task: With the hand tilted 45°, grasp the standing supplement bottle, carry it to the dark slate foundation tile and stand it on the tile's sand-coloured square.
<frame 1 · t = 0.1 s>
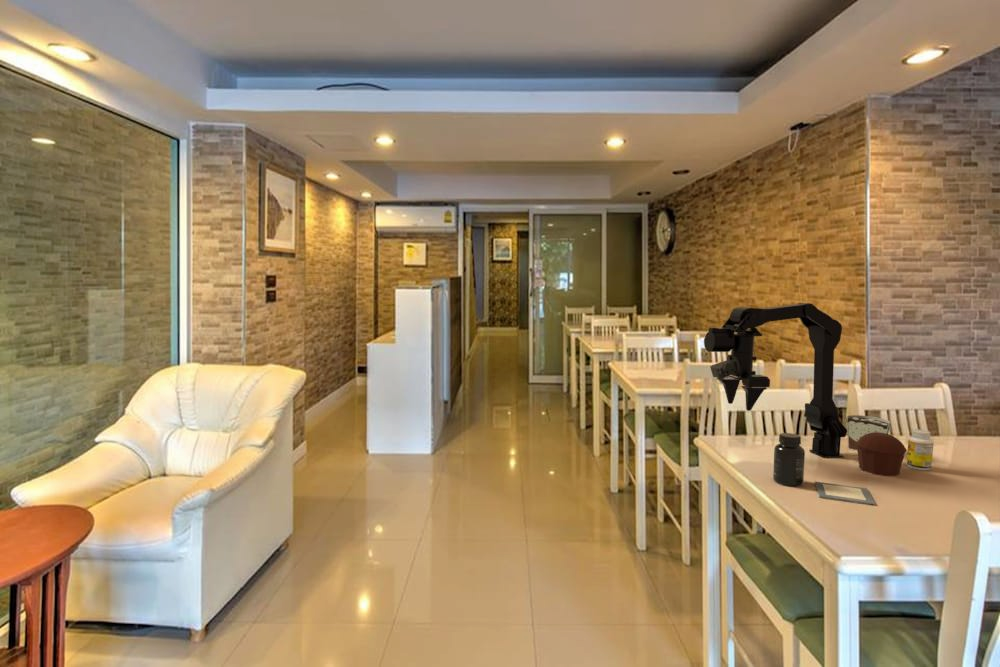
hand: (739, 406, 163), 15 cm above the table, tool pointing down, fingers open, 9 cm apart
supplement bottle: (787, 483, 144), on the table
foundation tile: (843, 493, 137), on the table
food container: (869, 451, 173), on the table
muffin: (879, 471, 155), on the table
supplement bottle 2: (918, 468, 158), on the table
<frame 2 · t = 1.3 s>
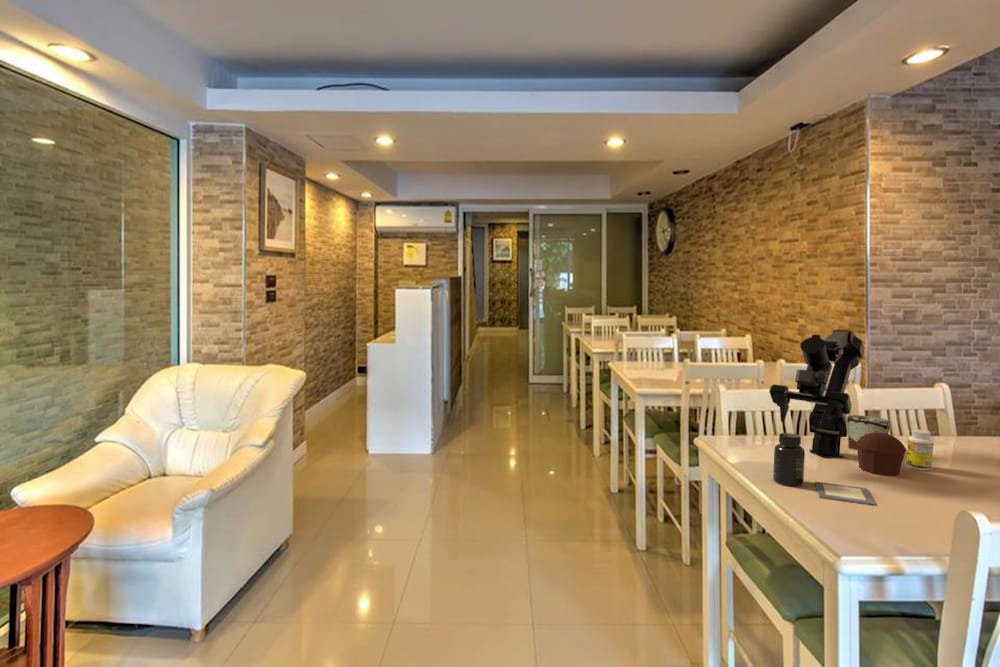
hand: (800, 424, 149), 13 cm above the table, tool tilted 45°, fingers open, 9 cm apart
nothing on the table moved.
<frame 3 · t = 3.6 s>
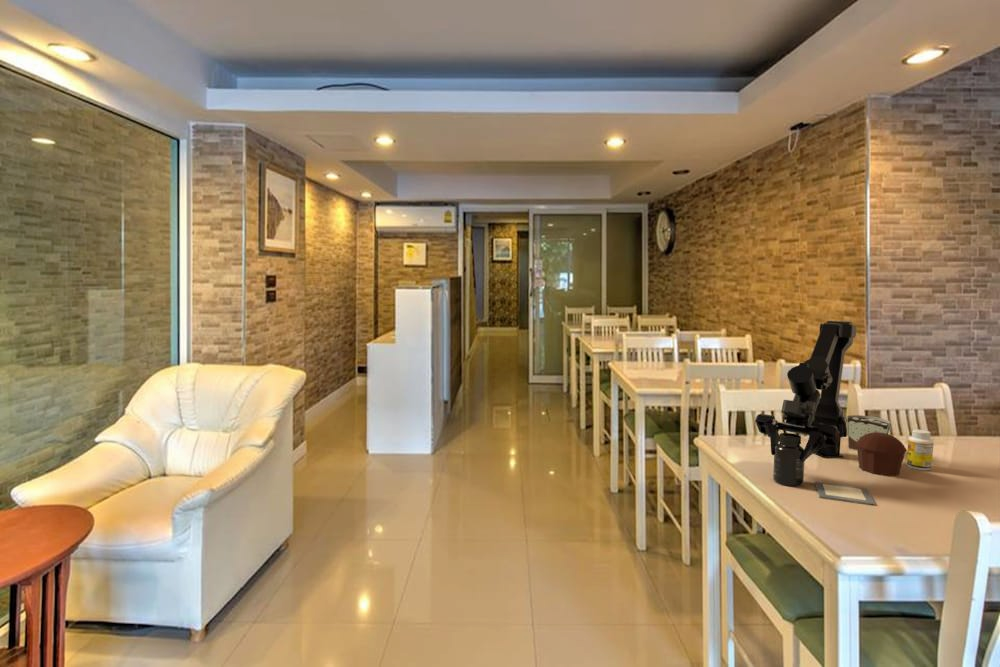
hand: (787, 457, 143), 7 cm above the table, tool tilted 45°, fingers closed on supplement bottle, 7 cm apart
supplement bottle: (787, 483, 144), on the table, touching gripper
everything else where it was.
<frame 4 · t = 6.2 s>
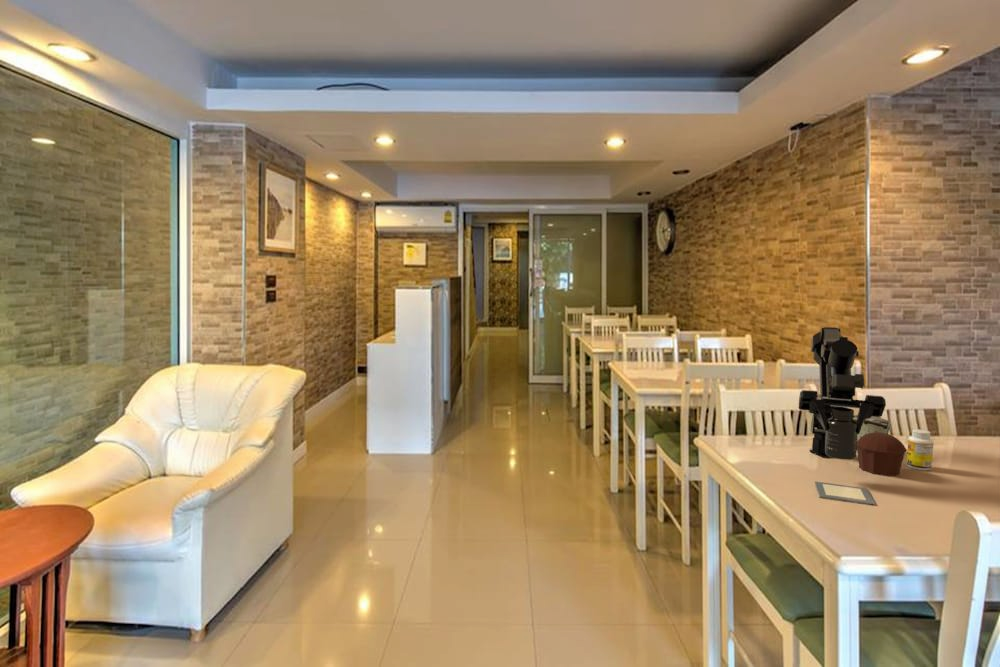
hand: (842, 431, 143), 13 cm above the table, tool tilted 45°, fingers closed on supplement bottle, 7 cm apart
supplement bottle: (839, 456, 145), point 6 cm above the table, touching gripper
everything else where it was.
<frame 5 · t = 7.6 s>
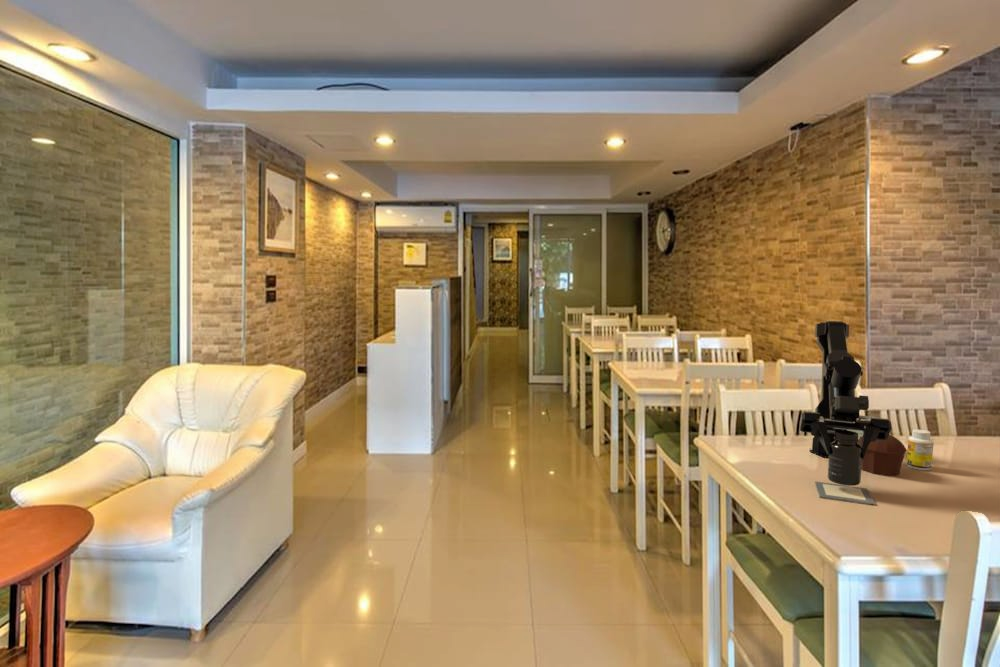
hand: (845, 456, 137), 9 cm above the table, tool tilted 45°, fingers closed on supplement bottle, 7 cm apart
supplement bottle: (843, 482, 138), point 2 cm above the table, touching gripper
everything else where it was.
when the fingers open (8 cm above the table, at t = 8.6 s): supplement bottle stays where it is, resting on foundation tile.
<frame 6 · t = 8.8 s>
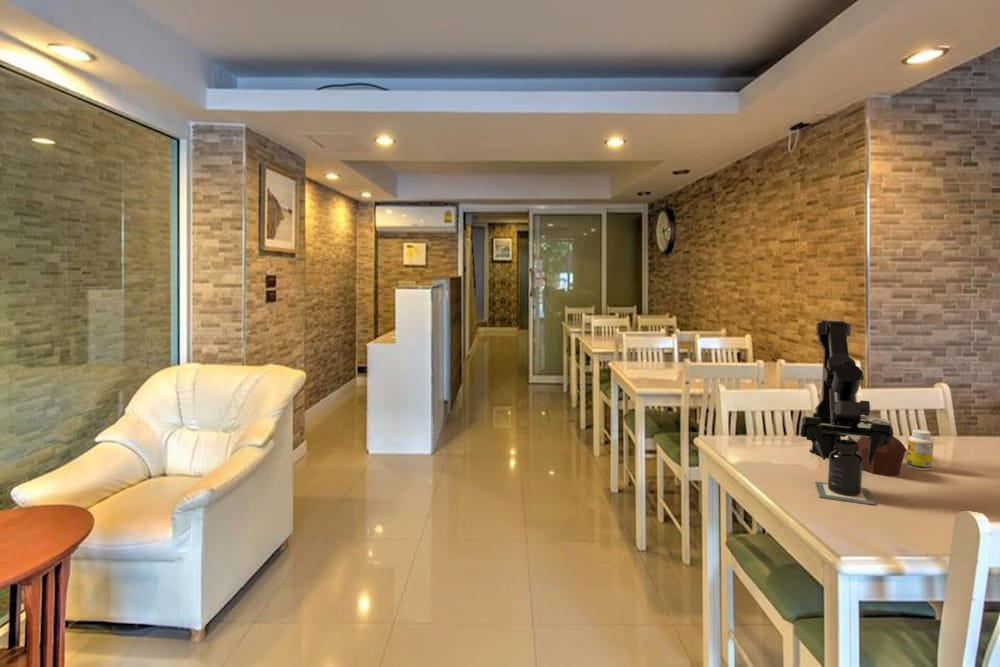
hand: (846, 461, 135), 8 cm above the table, tool tilted 45°, fingers open, 9 cm apart
supplement bottle: (843, 492, 137), resting on foundation tile
everything else where it was.
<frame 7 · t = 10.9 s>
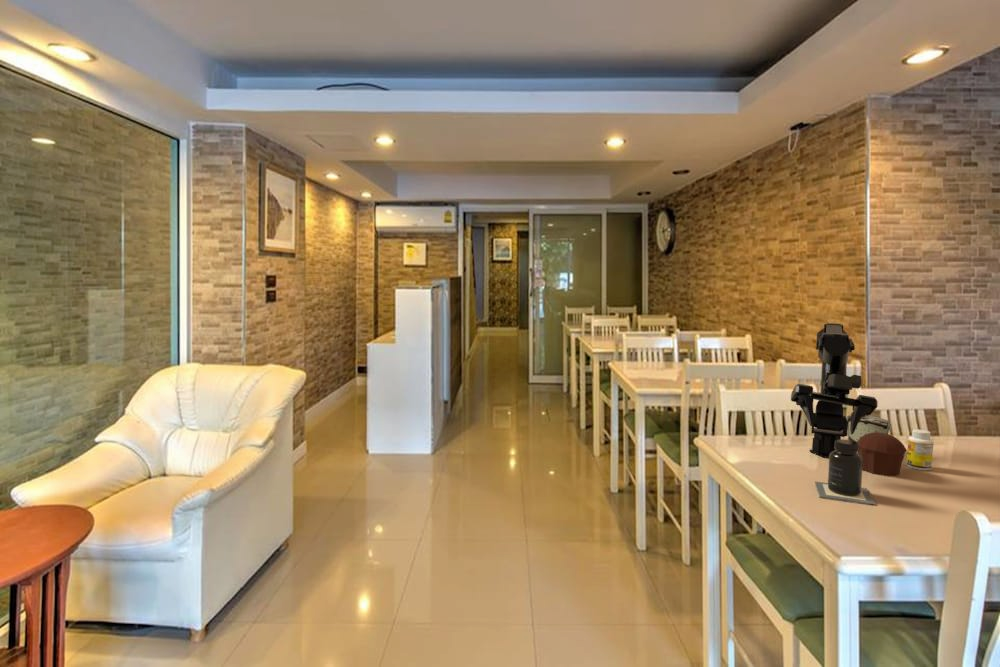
hand: (831, 429, 146), 13 cm above the table, tool tilted 35°, fingers open, 9 cm apart
nothing on the table moved.
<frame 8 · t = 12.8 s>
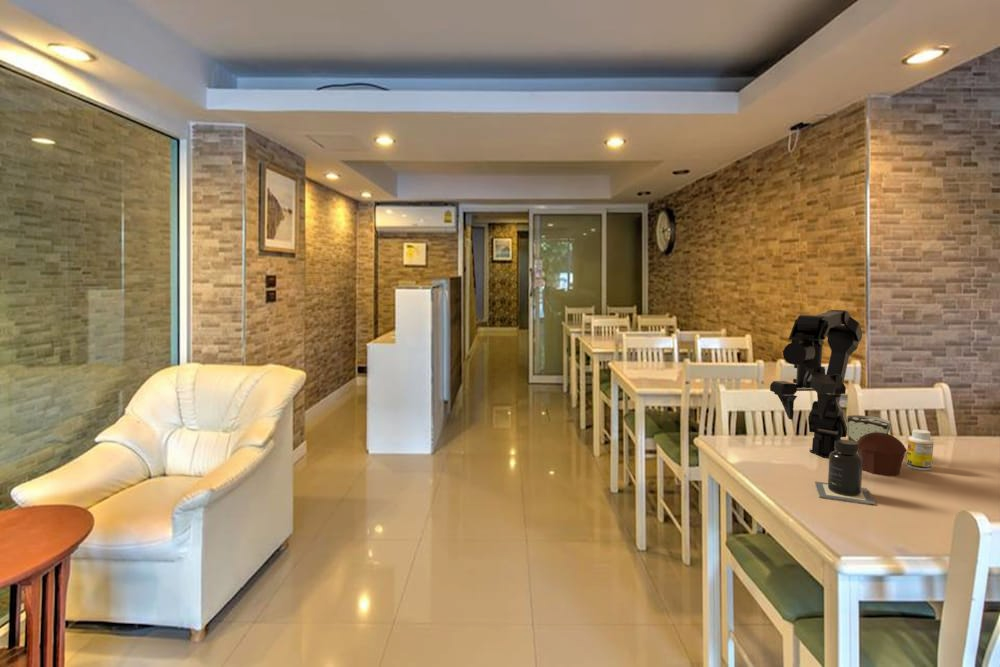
hand: (805, 418, 157), 13 cm above the table, tool pointing down, fingers open, 9 cm apart
nothing on the table moved.
at the end: supplement bottle inside the target area on the foundation tile (0.3 cm from its centre), point 0.3 cm above the foundation tile's base; supplement bottle tilted 0°; the gripper is holding nothing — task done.
